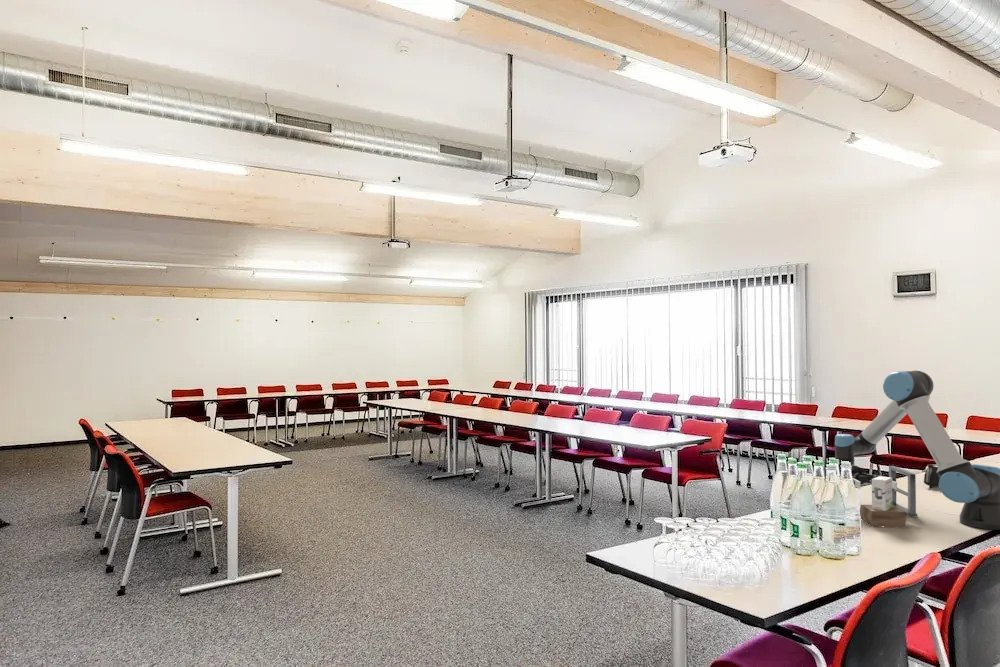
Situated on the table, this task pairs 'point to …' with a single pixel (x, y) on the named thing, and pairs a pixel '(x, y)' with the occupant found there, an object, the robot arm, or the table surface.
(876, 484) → the ink box
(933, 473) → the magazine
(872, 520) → the walnut plinth
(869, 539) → the table surface
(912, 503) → the rack
